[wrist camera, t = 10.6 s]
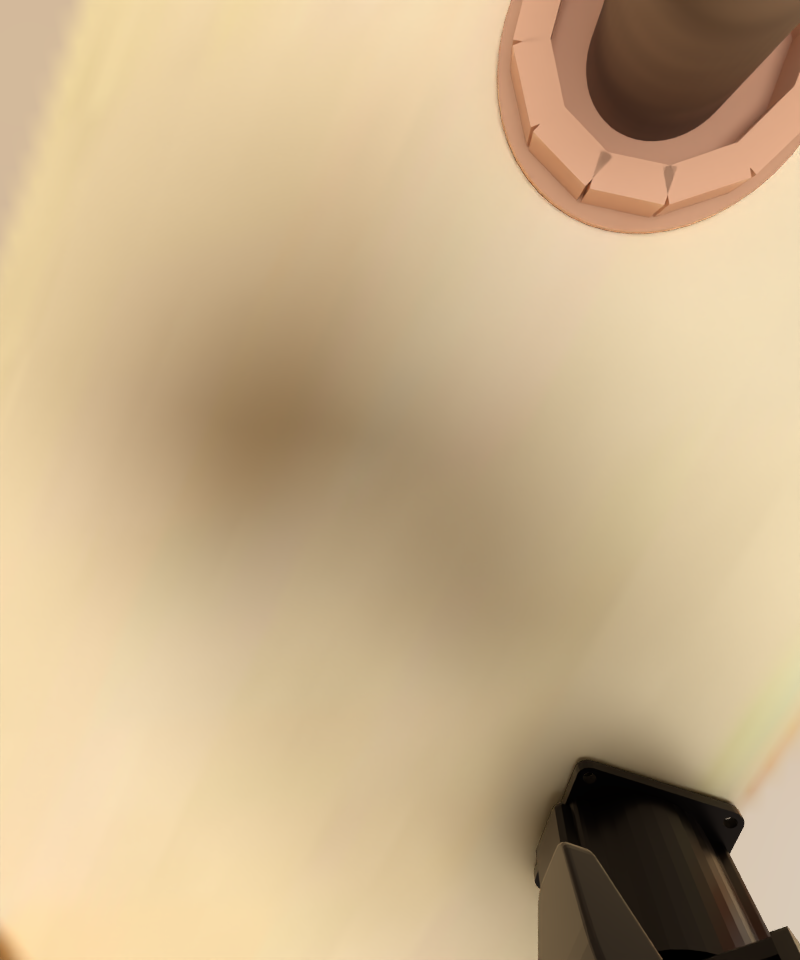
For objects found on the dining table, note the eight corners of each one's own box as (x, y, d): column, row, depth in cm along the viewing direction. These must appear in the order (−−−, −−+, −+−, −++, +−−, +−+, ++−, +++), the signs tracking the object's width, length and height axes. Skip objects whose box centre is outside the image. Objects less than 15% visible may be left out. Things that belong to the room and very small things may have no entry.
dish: (902, -107, 14) (961, -173, 12) (757, 263, 16) (789, 252, 15) (551, -163, 15) (561, -233, 13) (462, 198, 17) (460, 179, 16)
